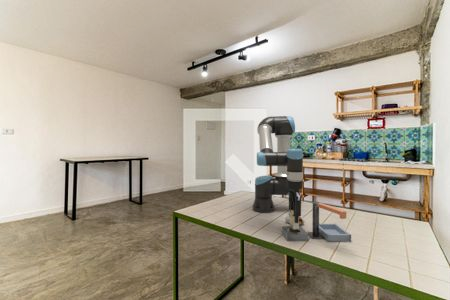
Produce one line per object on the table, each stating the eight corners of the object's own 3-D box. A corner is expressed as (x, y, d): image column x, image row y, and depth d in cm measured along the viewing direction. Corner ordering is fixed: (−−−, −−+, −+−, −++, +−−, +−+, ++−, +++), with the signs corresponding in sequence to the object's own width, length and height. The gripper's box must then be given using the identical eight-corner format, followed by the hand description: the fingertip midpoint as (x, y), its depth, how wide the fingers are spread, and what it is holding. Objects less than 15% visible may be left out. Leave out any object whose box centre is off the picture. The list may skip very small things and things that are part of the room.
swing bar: (341, 219, 90) (341, 212, 90) (311, 207, 106) (311, 201, 106) (346, 218, 91) (346, 211, 91) (315, 206, 107) (316, 201, 107)
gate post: (307, 233, 109) (307, 203, 108) (319, 233, 108) (319, 203, 108) (312, 238, 103) (312, 207, 102) (324, 238, 102) (324, 207, 102)
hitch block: (281, 232, 111) (281, 226, 111) (301, 232, 111) (301, 226, 110) (287, 240, 101) (287, 234, 101) (308, 240, 101) (308, 234, 100)
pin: (289, 234, 107) (289, 209, 107) (296, 234, 107) (297, 209, 107) (291, 237, 104) (292, 211, 103) (299, 237, 104) (299, 211, 103)
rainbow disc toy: (293, 227, 117) (293, 214, 116) (283, 221, 126) (283, 209, 126) (306, 226, 119) (306, 213, 119) (296, 220, 128) (296, 208, 128)
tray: (315, 229, 113) (315, 223, 113) (335, 229, 113) (335, 223, 113) (327, 241, 99) (327, 234, 99) (351, 241, 99) (351, 234, 99)
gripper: (282, 177, 113) (282, 221, 114) (292, 183, 96) (292, 234, 97) (296, 177, 113) (296, 221, 114) (308, 183, 96) (308, 234, 97)
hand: (294, 227), depth 105 cm, fingers closed on pin, 4 cm apart
